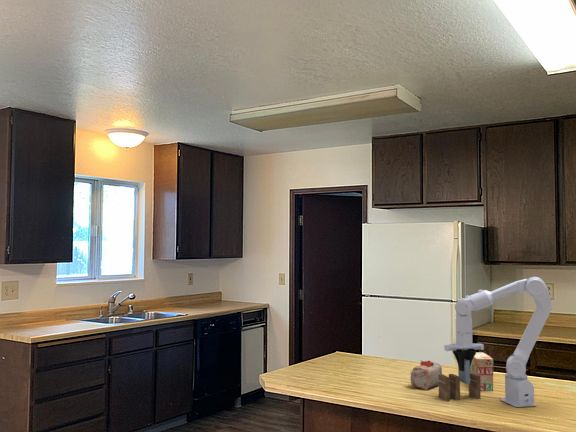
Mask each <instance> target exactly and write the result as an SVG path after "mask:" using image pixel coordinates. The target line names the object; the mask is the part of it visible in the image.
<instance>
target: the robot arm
mask: <svg viewBox="0 0 576 432" xmlns="http://www.w3.org/2000/svg"><path fill="white" fill-rule="evenodd" d="M526 292H527V294H528V295H529V296H530V297H531V298H532V299H533V301H534V304H535V306H536V307H535V309H534V311H533V313H532V316H531V317H530V319H529V322H528V323H527V325H526V328H525V329H524V332H523V334H522V336H521V338H520V339H519V343H518V344H517V346H516V348H515V349H514V351H513V353H512V354H511V355H510V356H508V357H507V359H506V365H505V371H506V373H504V388H505V389H504V398H503V397H502V398H499V400H500V401H502V402H503V403H505V404H508V405H510V406H513V407H515V408H523V407H526V408H527V407H536V406H537V404H536V403H535V387H534V385H533V383H532V382H531V381H530V380H529V379H528V375H527V374H526V371H527V363H528V360H529V358H530V355H531V353H532V351H533V348H534V347H535V344H536V342H537V340H538V338H539V336H540V334H541V333H542V330H543V328H544V326H545V324H546V322H547V319H548V318H549V316H550V313H551V311H552V309H553V304H552V299H551V295H550V290H549V287H548V286H547V285H546V283H545V281H544V280H543V279H542V278H541V277H538V276H530V277H529V278H524V279H520V280H516V281H514V282H511V283H508V284H506V285H503V286H502V287H499V288H496V289H494V290H492V291H489V290H487V289H478V290H477V292H476V293H474V294H471V295H469V294H467V295H465V298H463V297H462V298H460V299H458V300H457V301H456V302H455V304H454V310H455V312H456V313H455V317H456V318H455V343H452V344H451V343H450V344H443V345H444V346H443V347H444V348H443V349H444V352H450V351H451V352H452V353H453V355H454V358H455V360H456V363H457V367H458V366H459V370H460V371H464V359H466V360H469V361H470V366H471V363H472V360H473V358H474V356H475V354H476V352H477V351H476V350H479V351H480V350H481V351H483V350H485V347H484V346H485V345H484V344H483V343H481V342H480V343H474V342H473V319H472V311H474V312H477V311H479V310H483V309H485V308H487V307H491V306H492V305H493V304H494V301H495V300H498V299H500V298H504V297H507V296H511V295H513V294H515V293H517V294H518V293H519V294H525V295H526Z"/></svg>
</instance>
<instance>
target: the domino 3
mask: <svg viewBox="0 0 576 432" xmlns="http://www.w3.org/2000/svg"><path fill="white" fill-rule="evenodd" d="M481 393H482V391H480V376H479V375H477V374H474V373H470V384H468V395H469V397H472V398H474V399H476V400H479V399H480V400H481V398H482V397H481Z"/></svg>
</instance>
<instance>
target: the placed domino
mask: <svg viewBox="0 0 576 432" xmlns="http://www.w3.org/2000/svg"><path fill="white" fill-rule="evenodd" d="M457 373H458V374H457V376H459V377H460V383H463V384H468V385H469V384H470V361H469V360H466V359H464V371H460V370H459V366H458V365H457Z"/></svg>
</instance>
